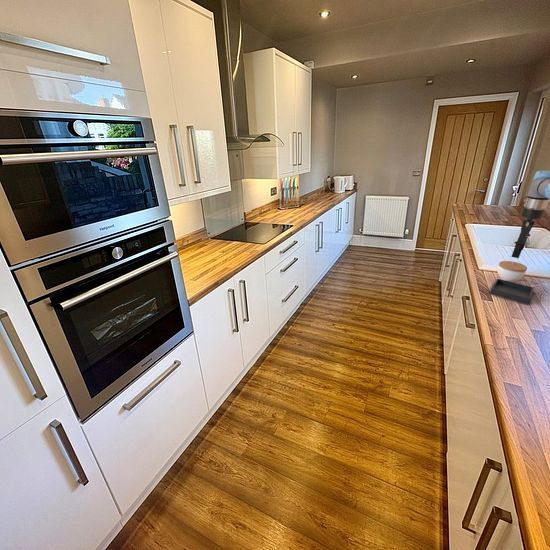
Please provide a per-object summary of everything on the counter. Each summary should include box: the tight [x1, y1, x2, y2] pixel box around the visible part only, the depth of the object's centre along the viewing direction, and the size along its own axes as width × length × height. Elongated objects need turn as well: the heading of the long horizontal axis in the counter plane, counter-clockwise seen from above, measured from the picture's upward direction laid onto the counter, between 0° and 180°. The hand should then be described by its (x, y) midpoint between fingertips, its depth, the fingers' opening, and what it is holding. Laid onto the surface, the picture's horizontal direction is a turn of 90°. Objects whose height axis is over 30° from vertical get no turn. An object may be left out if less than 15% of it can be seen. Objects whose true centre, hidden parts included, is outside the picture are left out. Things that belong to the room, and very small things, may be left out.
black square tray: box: [489, 278, 535, 305], centre depth 130 cm, size 14×14×2 cm
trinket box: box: [497, 260, 528, 283], centre depth 140 cm, size 11×11×9 cm
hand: (517, 253), depth 136 cm, fingers open, 13 cm apart
